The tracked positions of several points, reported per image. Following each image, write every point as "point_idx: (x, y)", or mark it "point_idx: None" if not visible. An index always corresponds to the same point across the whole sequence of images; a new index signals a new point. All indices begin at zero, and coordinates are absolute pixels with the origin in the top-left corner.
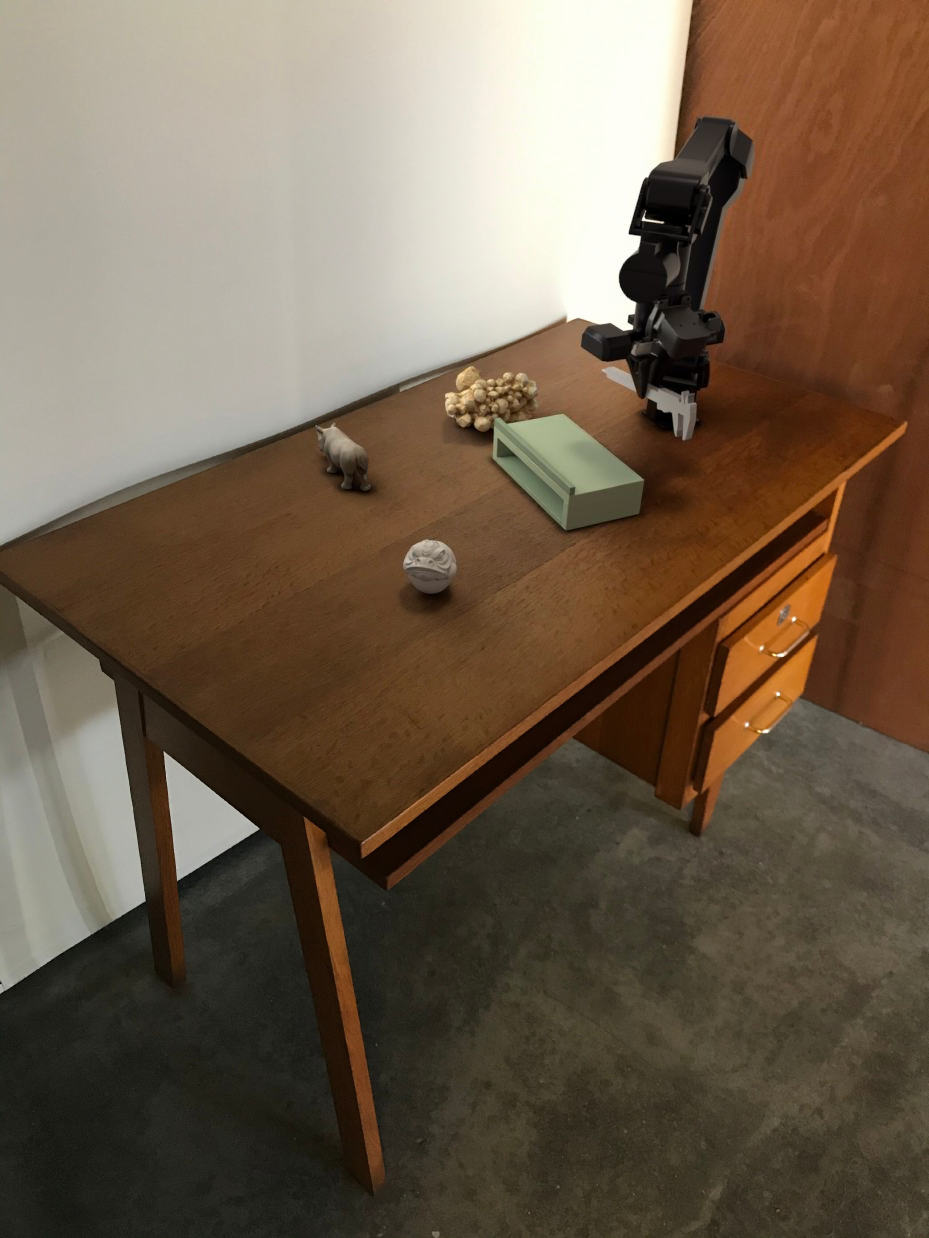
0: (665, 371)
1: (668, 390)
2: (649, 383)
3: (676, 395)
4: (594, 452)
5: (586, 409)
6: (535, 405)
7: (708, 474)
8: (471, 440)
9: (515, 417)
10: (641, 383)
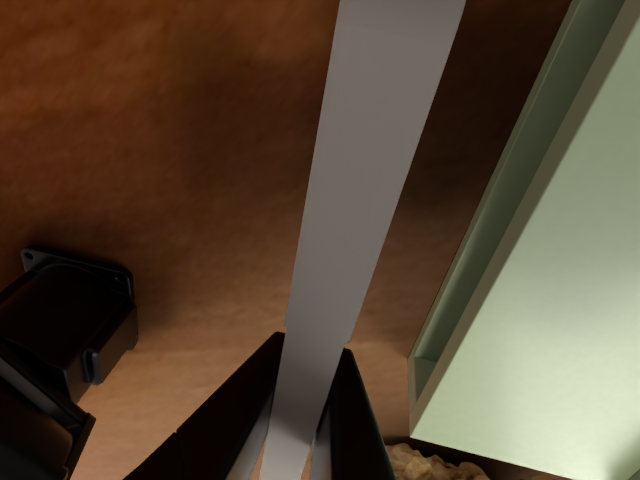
0: (165, 463)
1: (309, 277)
2: (269, 418)
3: (374, 126)
4: (581, 249)
5: None
6: None
7: (160, 11)
8: None
9: (436, 471)
10: (383, 450)
